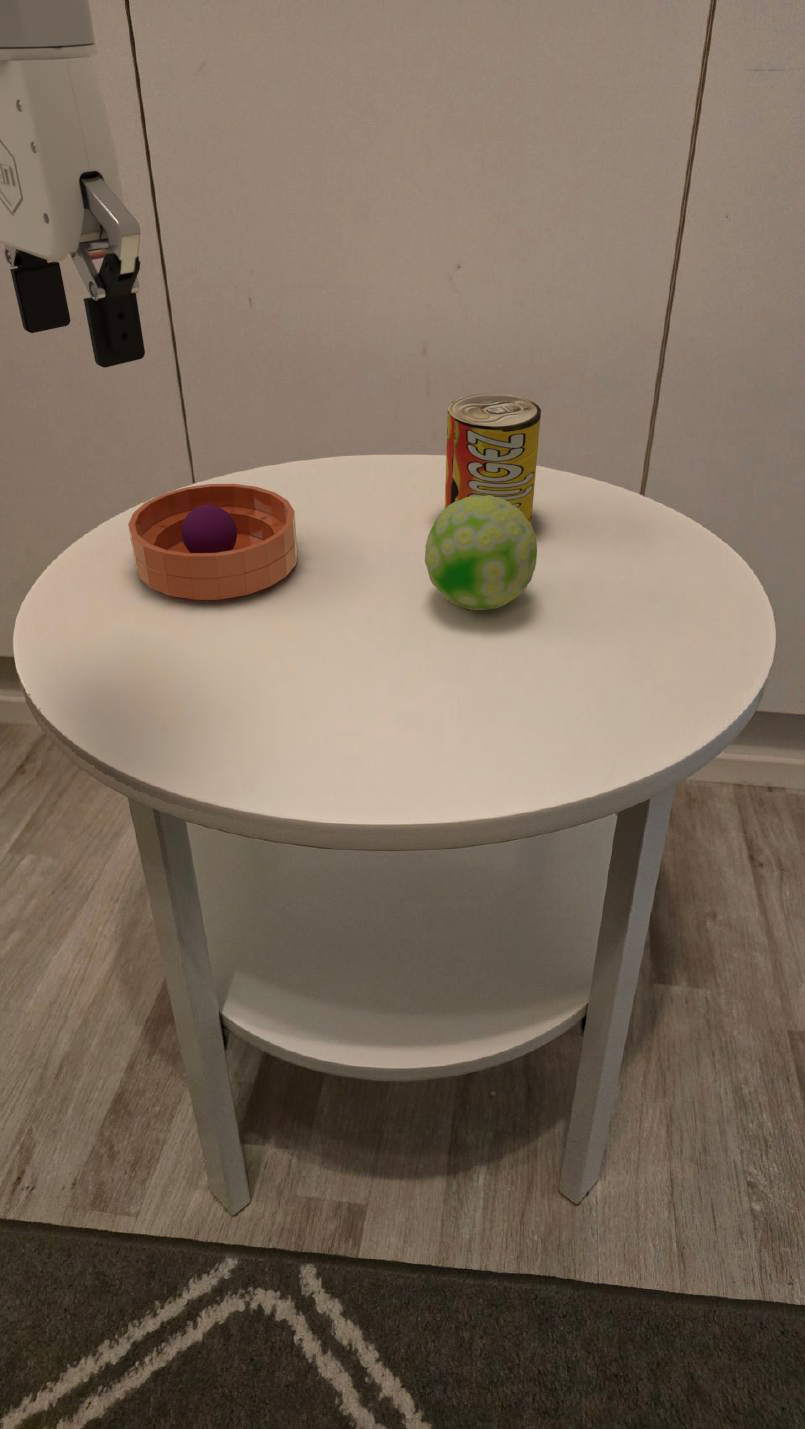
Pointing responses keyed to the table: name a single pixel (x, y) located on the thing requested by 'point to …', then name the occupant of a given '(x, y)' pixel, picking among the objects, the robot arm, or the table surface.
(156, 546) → the bowl
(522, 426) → the beverage can
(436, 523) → the decorative ball
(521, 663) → the table surface
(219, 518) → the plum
